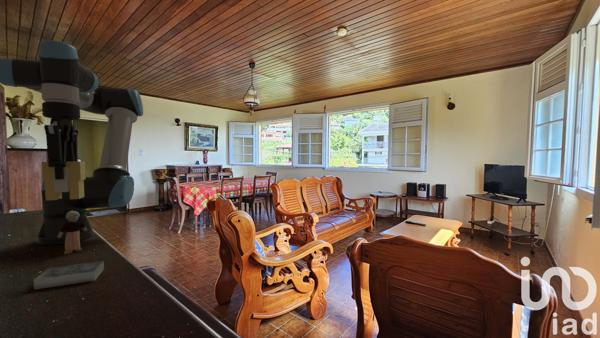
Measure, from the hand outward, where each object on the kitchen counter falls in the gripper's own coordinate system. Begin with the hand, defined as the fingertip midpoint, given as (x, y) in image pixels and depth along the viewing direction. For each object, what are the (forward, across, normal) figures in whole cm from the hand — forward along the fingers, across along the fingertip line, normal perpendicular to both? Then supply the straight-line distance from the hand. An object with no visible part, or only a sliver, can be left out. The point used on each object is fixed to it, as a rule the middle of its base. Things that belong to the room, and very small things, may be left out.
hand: (65, 190), depth 71 cm
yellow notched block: (+2, 0, 0) cm, 2 cm away
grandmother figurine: (+20, -13, -3) cm, 24 cm away
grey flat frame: (+20, +11, +4) cm, 23 cm away
